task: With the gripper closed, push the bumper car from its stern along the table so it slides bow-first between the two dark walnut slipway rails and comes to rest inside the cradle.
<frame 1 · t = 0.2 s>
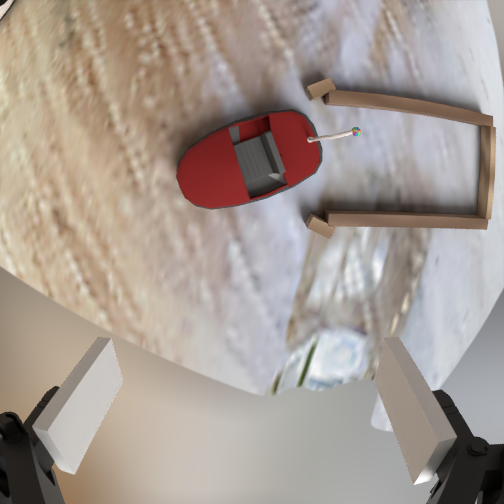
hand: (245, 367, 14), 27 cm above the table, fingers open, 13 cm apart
cradle: (400, 161, 37), on the table
bumper car: (259, 156, 38), on the table
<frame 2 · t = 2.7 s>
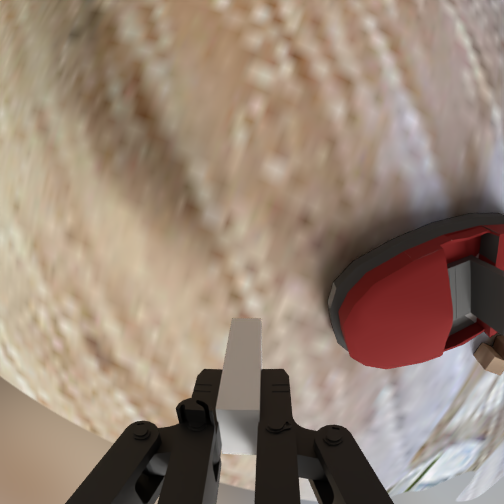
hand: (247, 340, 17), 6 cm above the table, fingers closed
bumper car: (445, 275, 22), on the table
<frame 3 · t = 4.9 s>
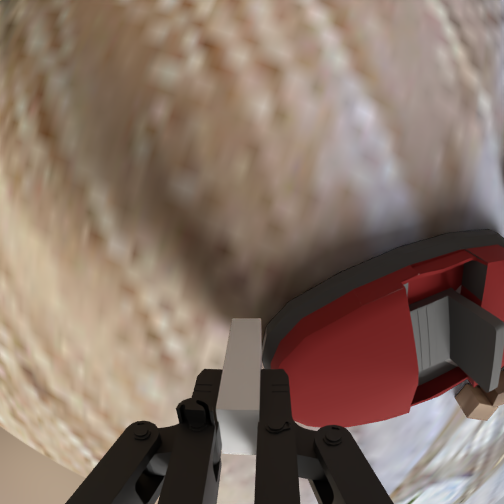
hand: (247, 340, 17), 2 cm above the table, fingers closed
bumper car: (418, 311, 18), on the table, touching gripper
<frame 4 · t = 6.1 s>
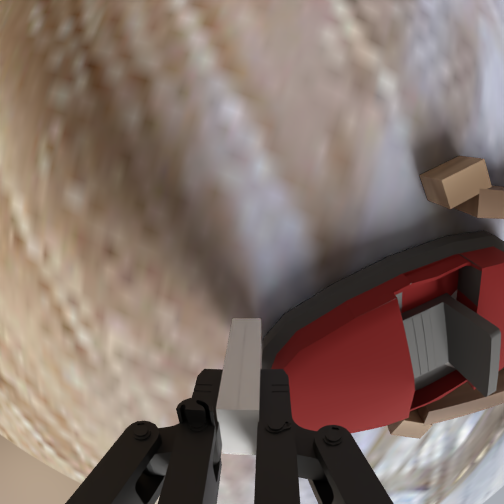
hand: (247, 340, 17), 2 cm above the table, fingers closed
bumper car: (415, 316, 18), on the table, touching gripper
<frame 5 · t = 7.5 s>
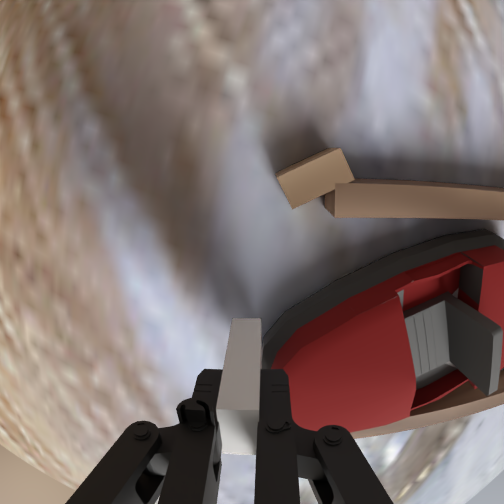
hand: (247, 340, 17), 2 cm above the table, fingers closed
cradle: (464, 309, 18), on the table
bumper car: (416, 315, 18), on the table, touching gripper
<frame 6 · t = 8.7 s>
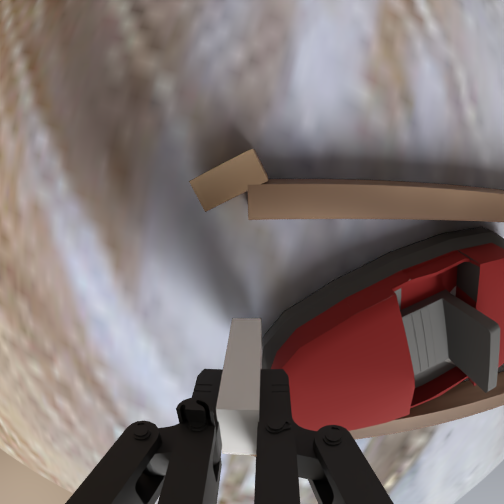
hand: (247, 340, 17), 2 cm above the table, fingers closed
cradle: (417, 315, 18), on the table
bumper car: (415, 313, 18), on the table
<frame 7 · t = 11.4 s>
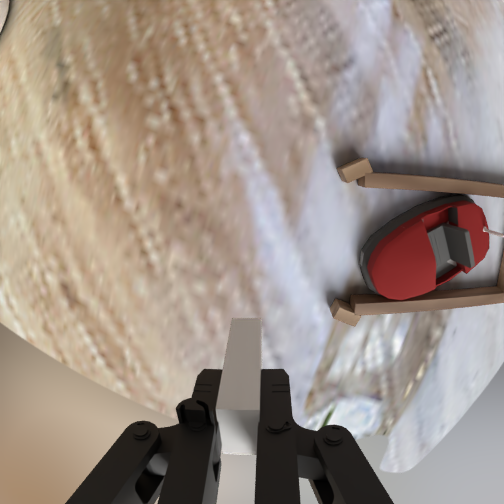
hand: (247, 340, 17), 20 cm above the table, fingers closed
cradle: (430, 242, 35), on the table
bumper car: (430, 238, 36), on the table
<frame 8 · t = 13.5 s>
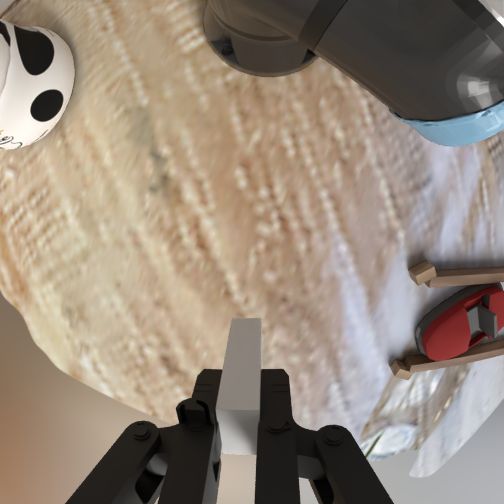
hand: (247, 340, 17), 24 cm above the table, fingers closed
milk container: (38, 90, 35), on the table
cradle: (465, 315, 43), on the table
bumper car: (465, 311, 43), on the table
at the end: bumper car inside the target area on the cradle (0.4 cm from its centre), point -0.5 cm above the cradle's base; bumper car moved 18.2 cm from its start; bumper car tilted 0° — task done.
